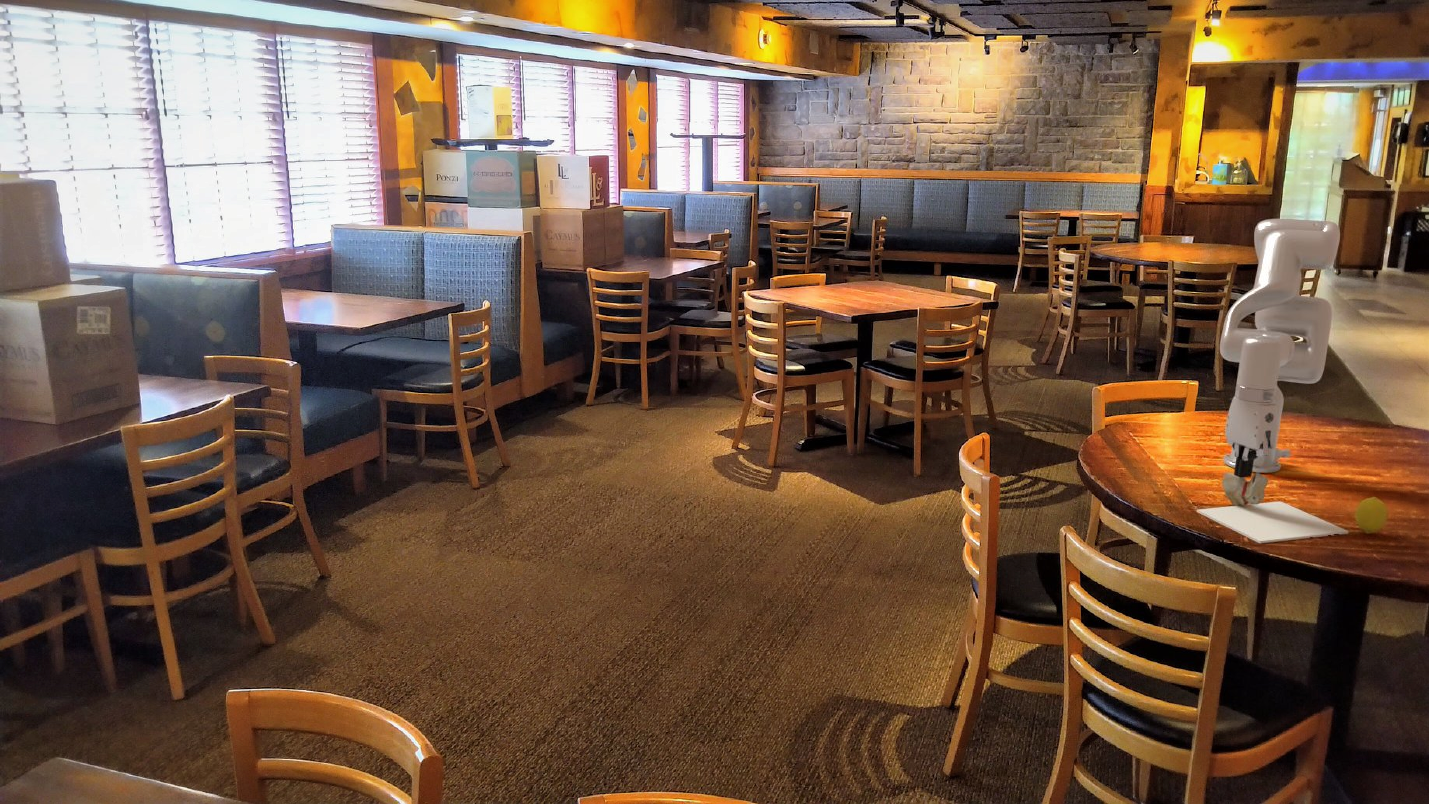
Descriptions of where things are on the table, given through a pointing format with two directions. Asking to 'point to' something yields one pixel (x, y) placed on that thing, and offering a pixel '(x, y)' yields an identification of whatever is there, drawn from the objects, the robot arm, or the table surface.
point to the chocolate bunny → (1244, 489)
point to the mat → (1271, 522)
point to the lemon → (1371, 515)
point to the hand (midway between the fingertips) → (1242, 475)
